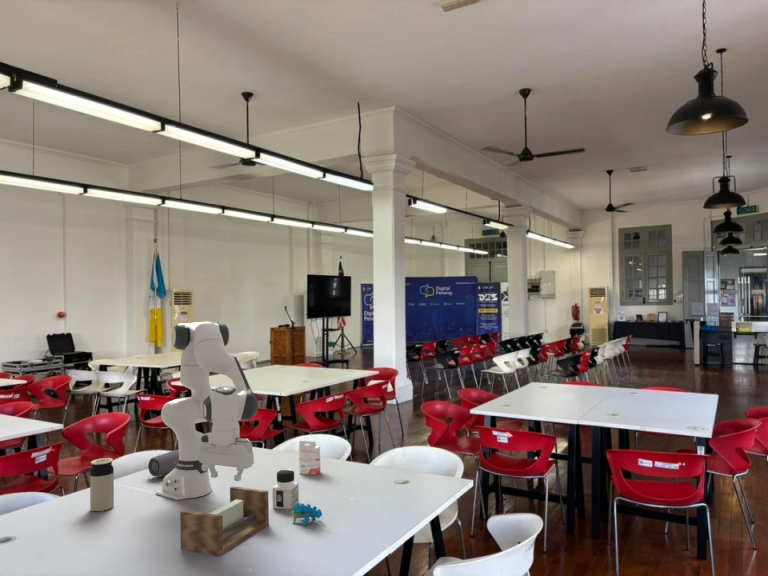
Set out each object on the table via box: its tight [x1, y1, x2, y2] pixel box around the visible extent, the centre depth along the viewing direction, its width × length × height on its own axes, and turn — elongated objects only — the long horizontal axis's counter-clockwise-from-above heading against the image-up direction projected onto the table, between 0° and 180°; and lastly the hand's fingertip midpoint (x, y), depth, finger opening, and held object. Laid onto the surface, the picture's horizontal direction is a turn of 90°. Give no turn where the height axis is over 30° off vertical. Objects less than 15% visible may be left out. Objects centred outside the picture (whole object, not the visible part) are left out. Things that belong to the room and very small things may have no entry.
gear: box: [291, 503, 323, 527], centre depth 192 cm, size 11×6×10 cm
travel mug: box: [89, 457, 115, 512], centre depth 212 cm, size 8×8×18 cm
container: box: [271, 468, 300, 510], centre depth 211 cm, size 8×8×13 cm
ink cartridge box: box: [298, 440, 321, 476], centre depth 251 cm, size 9×5×15 cm, turn 73°
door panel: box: [208, 499, 243, 530], centre depth 183 cm, size 3×14×8 cm, turn 158°
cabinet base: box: [179, 486, 270, 557], centre depth 183 cm, size 15×26×12 cm, turn 158°
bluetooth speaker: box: [147, 449, 179, 477], centre depth 257 cm, size 23×9×10 cm, turn 148°
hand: (225, 478), depth 184 cm, fingers open, 8 cm apart
